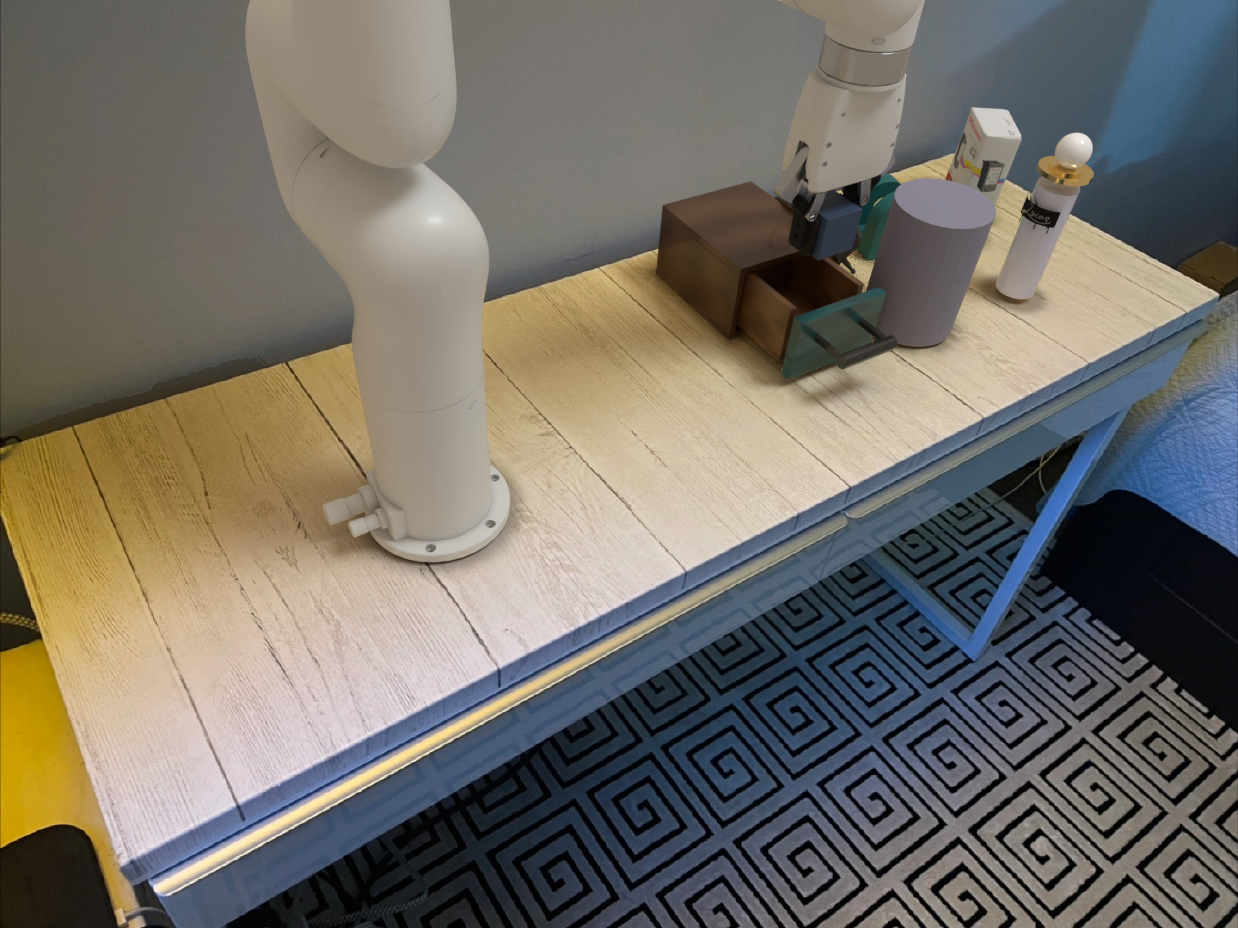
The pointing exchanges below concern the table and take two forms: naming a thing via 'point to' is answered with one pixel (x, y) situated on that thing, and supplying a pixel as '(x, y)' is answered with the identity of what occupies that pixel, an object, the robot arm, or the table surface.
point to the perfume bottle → (1045, 215)
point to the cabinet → (721, 248)
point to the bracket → (876, 216)
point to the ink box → (985, 151)
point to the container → (929, 258)
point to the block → (836, 225)
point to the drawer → (812, 315)
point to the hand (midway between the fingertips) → (820, 241)
